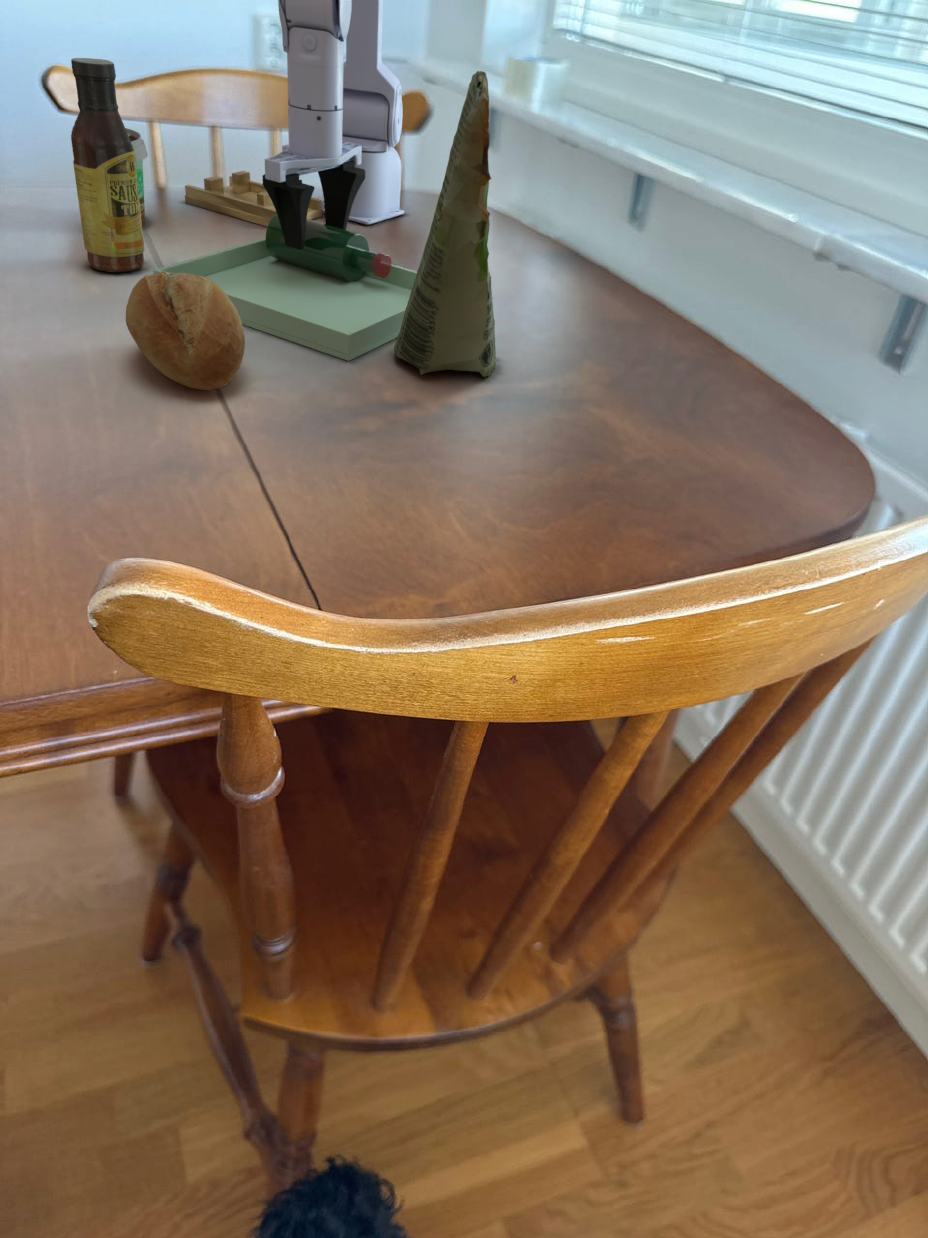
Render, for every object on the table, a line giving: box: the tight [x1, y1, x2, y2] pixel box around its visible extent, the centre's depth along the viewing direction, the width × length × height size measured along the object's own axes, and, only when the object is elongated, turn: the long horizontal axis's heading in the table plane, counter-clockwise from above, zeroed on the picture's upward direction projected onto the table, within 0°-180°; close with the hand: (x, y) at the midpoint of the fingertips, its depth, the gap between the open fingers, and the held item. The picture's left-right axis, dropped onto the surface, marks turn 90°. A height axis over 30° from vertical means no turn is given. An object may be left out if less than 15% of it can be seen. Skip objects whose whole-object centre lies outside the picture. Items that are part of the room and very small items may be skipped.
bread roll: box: [125, 271, 246, 391], centre depth 79 cm, size 10×15×8 cm, turn 29°
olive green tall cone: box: [393, 70, 497, 378], centre depth 81 cm, size 11×12×25 cm
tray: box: [152, 237, 418, 362], centre depth 97 cm, size 21×25×3 cm
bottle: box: [265, 214, 393, 282], centre depth 103 cm, size 5×15×5 cm, turn 60°
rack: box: [184, 170, 323, 228], centre depth 123 cm, size 10×16×4 cm, turn 60°
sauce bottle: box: [70, 57, 145, 273], centre depth 95 cm, size 7×6×20 cm
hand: (315, 240), depth 102 cm, fingers open, 7 cm apart
